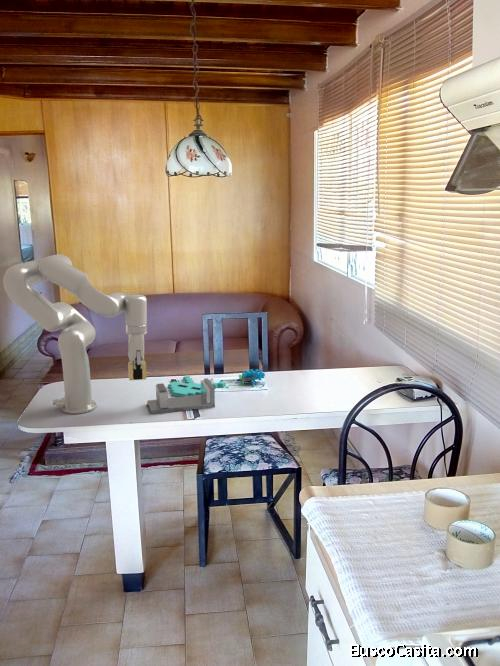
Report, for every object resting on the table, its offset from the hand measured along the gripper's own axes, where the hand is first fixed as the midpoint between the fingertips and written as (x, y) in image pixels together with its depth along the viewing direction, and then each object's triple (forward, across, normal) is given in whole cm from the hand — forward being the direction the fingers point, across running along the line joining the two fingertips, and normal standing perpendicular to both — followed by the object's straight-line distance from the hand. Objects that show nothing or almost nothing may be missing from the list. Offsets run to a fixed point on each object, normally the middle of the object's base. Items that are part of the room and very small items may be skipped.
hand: (137, 376), depth 206 cm
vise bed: (+13, 0, +16) cm, 21 cm away
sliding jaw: (+11, 0, +9) cm, 14 cm away
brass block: (+1, 0, 0) cm, 1 cm away
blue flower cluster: (+12, -16, +50) cm, 54 cm away
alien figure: (+13, -16, +24) cm, 32 cm away
